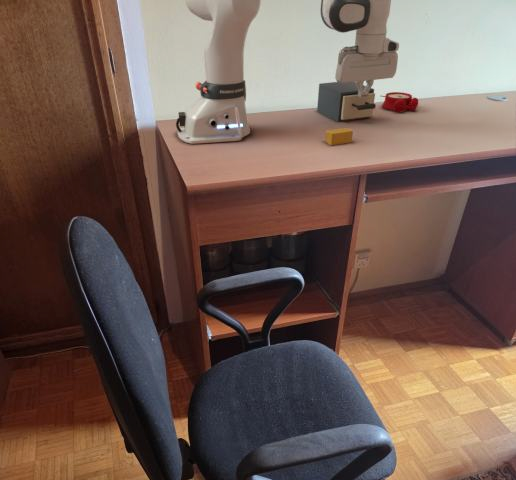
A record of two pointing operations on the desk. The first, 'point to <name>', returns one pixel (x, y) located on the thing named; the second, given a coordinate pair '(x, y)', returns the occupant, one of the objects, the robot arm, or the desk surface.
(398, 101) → the alarm clock
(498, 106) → the desk surface
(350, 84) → the cabinet
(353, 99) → the drawer
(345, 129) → the yellow rectangular block
